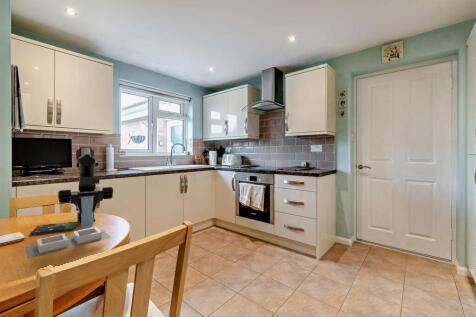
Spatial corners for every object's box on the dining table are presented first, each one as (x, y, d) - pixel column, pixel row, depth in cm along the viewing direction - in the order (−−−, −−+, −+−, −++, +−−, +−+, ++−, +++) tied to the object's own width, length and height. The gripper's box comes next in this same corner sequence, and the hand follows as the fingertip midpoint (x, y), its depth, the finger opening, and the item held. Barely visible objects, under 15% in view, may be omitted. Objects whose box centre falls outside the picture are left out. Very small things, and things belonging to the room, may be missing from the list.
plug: (89, 223, 93) (89, 195, 93) (95, 225, 92) (95, 196, 91) (79, 226, 90) (78, 197, 89) (85, 228, 88) (84, 198, 88)
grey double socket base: (102, 231, 100) (102, 224, 100) (111, 239, 92) (111, 231, 92) (25, 249, 82) (25, 239, 82) (27, 261, 74) (27, 250, 74)
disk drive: (29, 239, 92) (74, 233, 99) (29, 233, 92) (74, 227, 99) (37, 231, 101) (77, 226, 108) (37, 225, 101) (77, 220, 108)
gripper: (58, 169, 88) (55, 204, 79) (112, 168, 98) (115, 198, 90) (60, 186, 95) (58, 219, 86) (111, 183, 105) (113, 212, 97)
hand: (87, 212), depth 89 cm, fingers closed on plug, 4 cm apart
